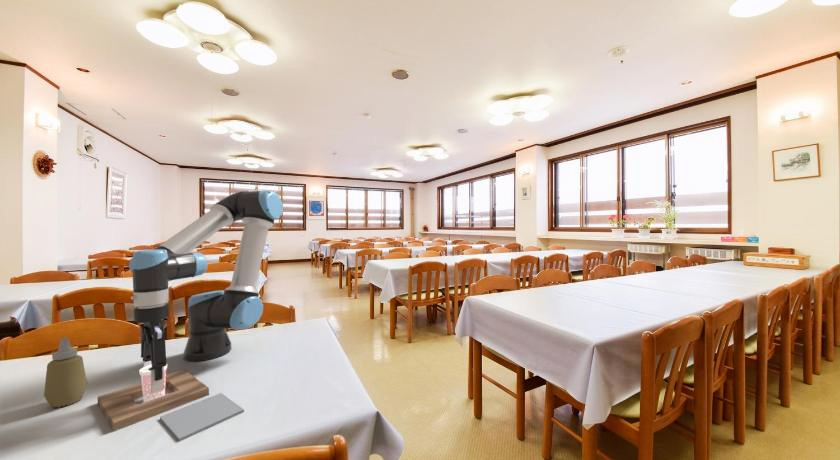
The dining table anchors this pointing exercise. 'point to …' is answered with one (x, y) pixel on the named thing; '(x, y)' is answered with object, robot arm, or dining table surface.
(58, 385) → the squeeze bottle
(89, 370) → the dining table surface
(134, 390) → the pocket holder
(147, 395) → the beverage cup
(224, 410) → the rubber mat
